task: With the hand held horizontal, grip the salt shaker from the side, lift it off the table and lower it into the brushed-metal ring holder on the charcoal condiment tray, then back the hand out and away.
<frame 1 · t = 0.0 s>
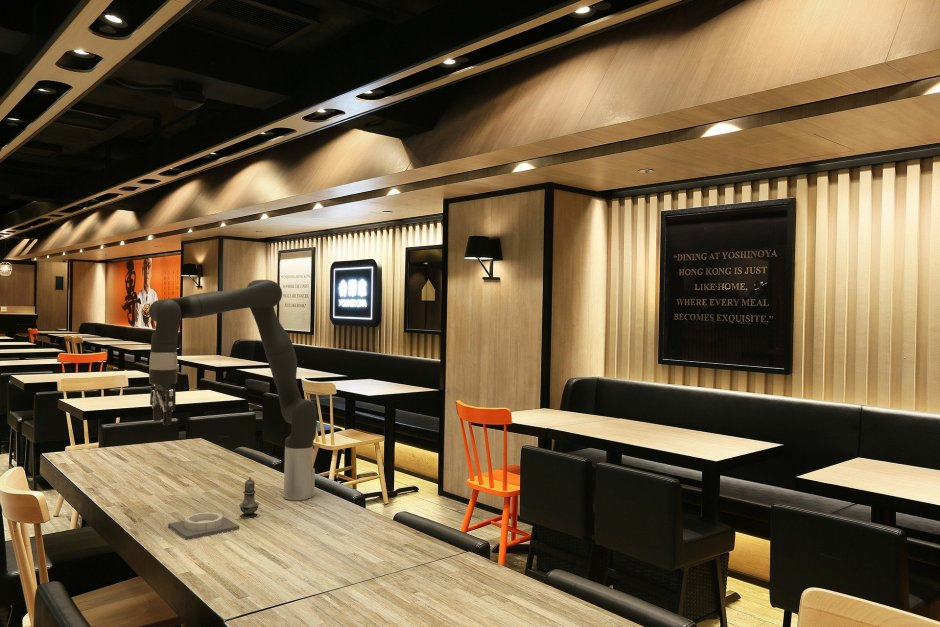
hand: (162, 422, 200), 29 cm above the table, tool pointing down, fingers open, 8 cm apart
condiment tray: (203, 528, 196), on the table
salt shaker: (248, 516, 208), on the table
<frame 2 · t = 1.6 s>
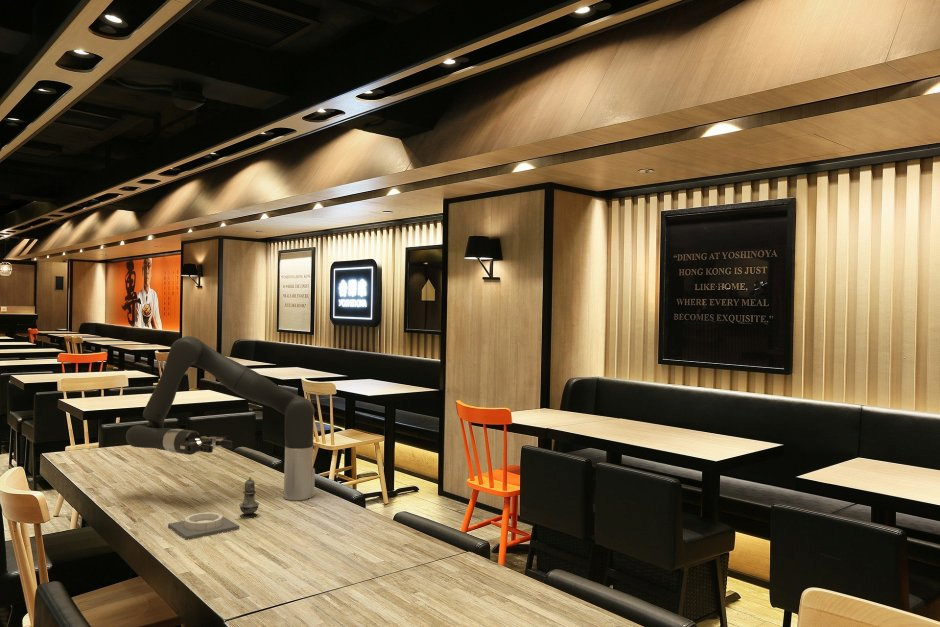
hand: (222, 446, 212), 20 cm above the table, tool horizontal, fingers open, 8 cm apart
nothing on the table moved.
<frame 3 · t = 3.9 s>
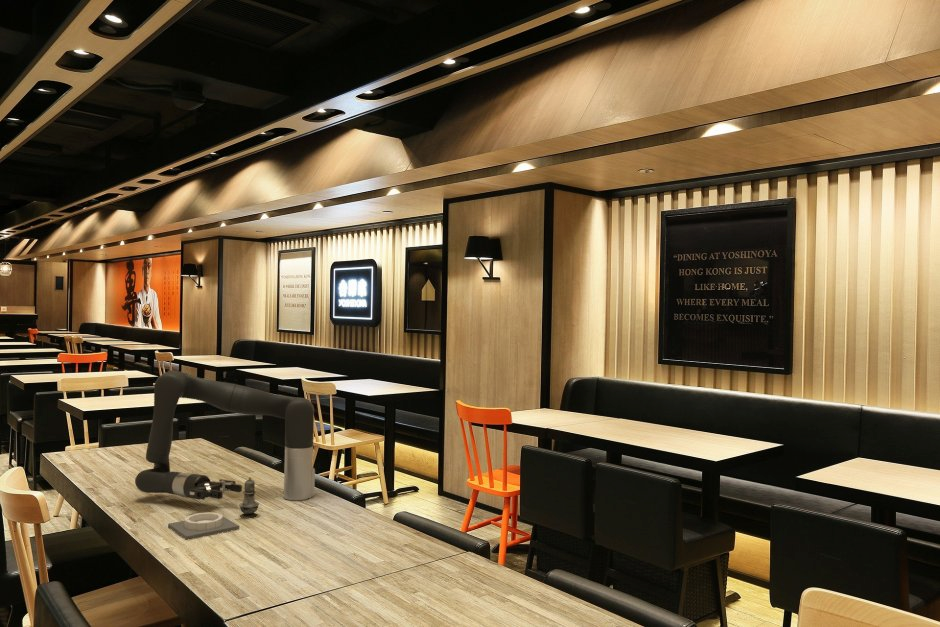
hand: (231, 491, 211), 7 cm above the table, tool horizontal, fingers open, 8 cm apart
nothing on the table moved.
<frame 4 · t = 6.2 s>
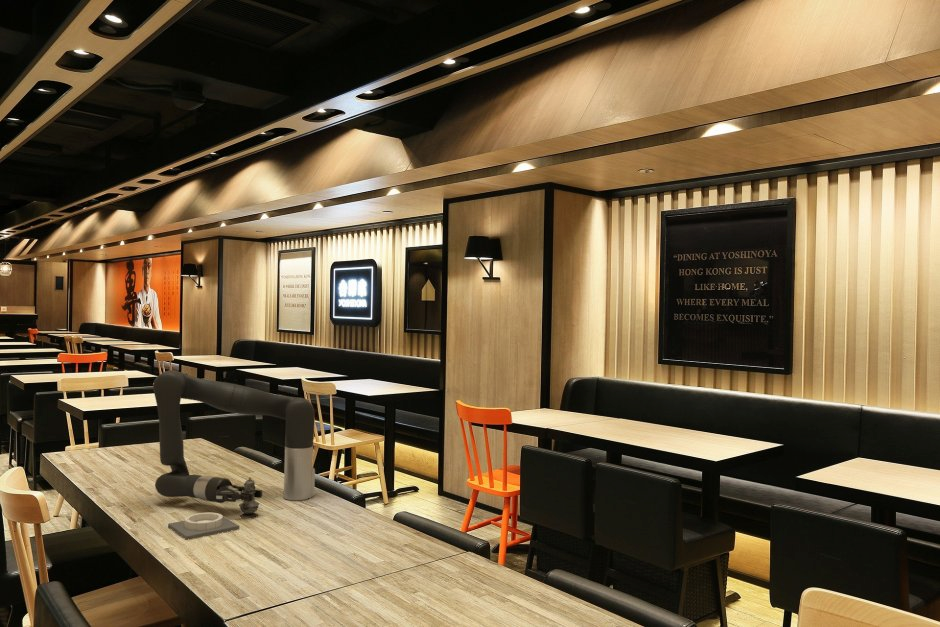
hand: (256, 495, 207), 7 cm above the table, tool horizontal, fingers closed on salt shaker, 3 cm apart
salt shaker: (248, 516, 208), on the table, touching gripper
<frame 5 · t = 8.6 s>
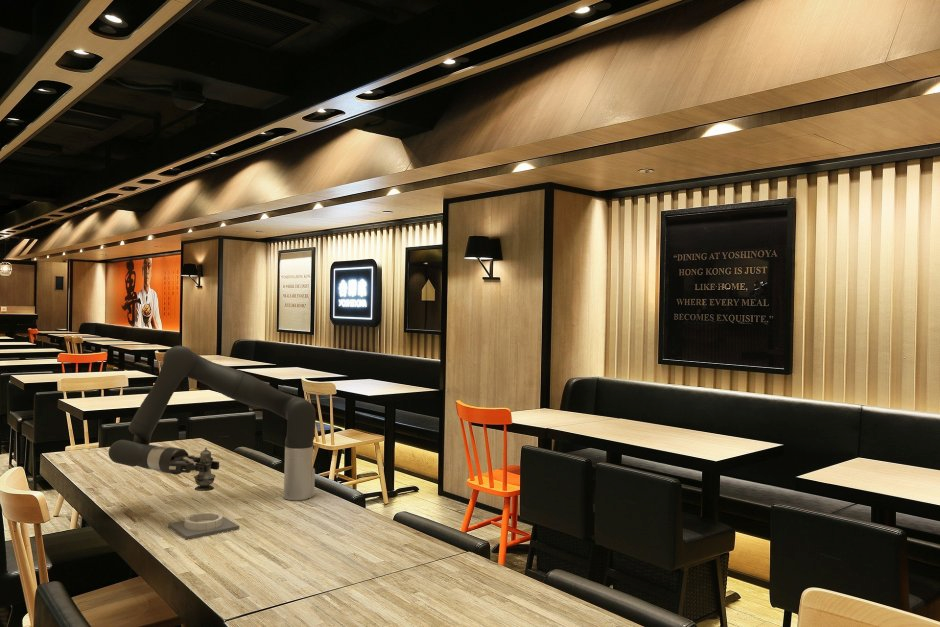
hand: (212, 467, 195), 18 cm above the table, tool horizontal, fingers closed on salt shaker, 3 cm apart
salt shaker: (204, 489, 196), point 11 cm above the table, touching gripper
when the fingers open (9 cm above the table, at t = 11.1 s): salt shaker stays where it is, resting on condiment tray.
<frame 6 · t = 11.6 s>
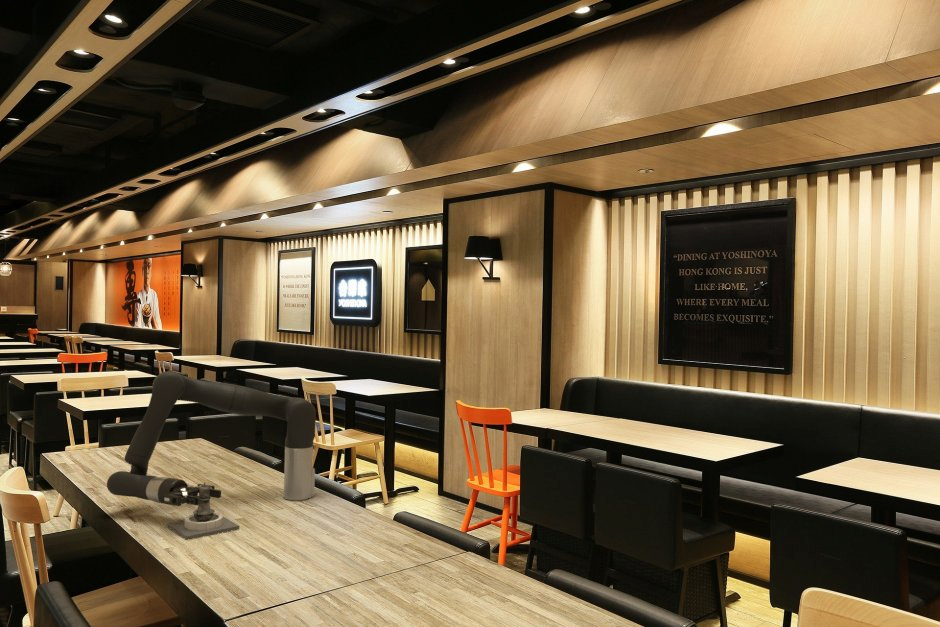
hand: (209, 497, 195), 9 cm above the table, tool horizontal, fingers open, 8 cm apart
salt shaker: (203, 524, 196), point 1 cm above the table, touching condiment tray
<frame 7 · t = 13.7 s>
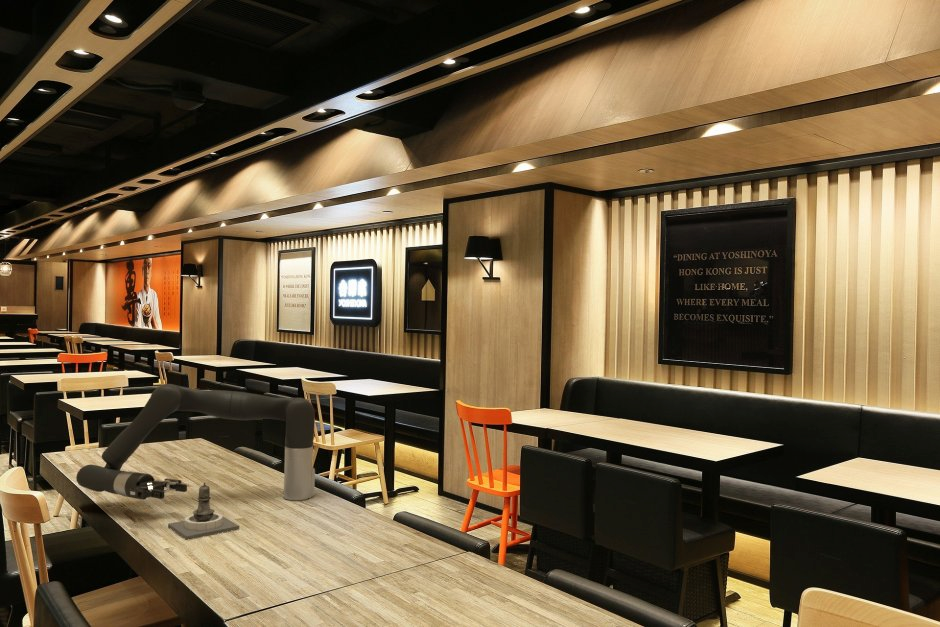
hand: (175, 491, 200), 9 cm above the table, tool horizontal, fingers open, 8 cm apart
nothing on the table moved.
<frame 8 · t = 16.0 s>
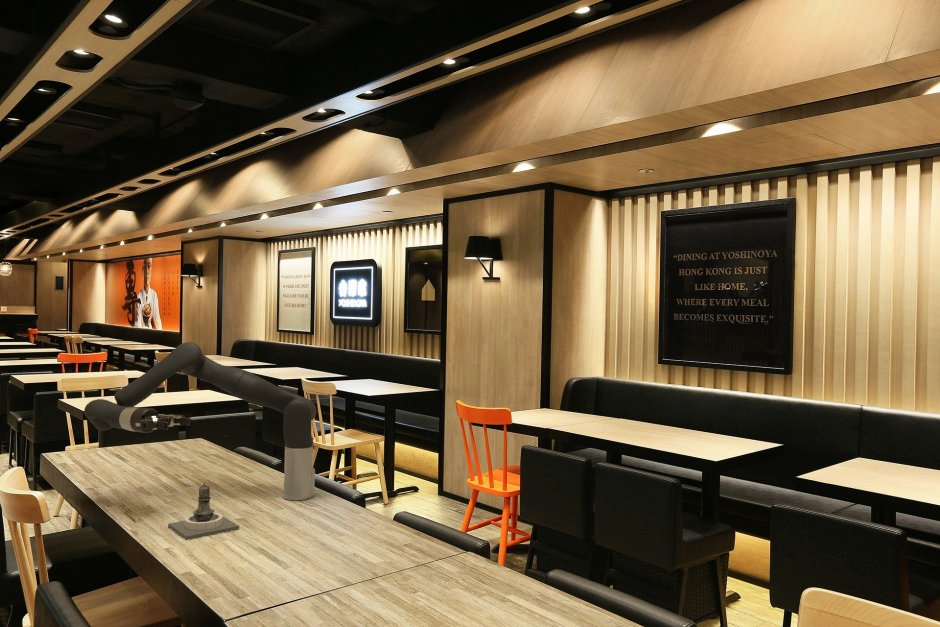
hand: (179, 424, 205), 28 cm above the table, tool horizontal, fingers open, 8 cm apart
nothing on the table moved.
at the end: salt shaker 0.1 cm off-centre on the condiment tray, point 1.0 cm above the condiment tray's base; salt shaker tilted 0°; the gripper is holding nothing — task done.
